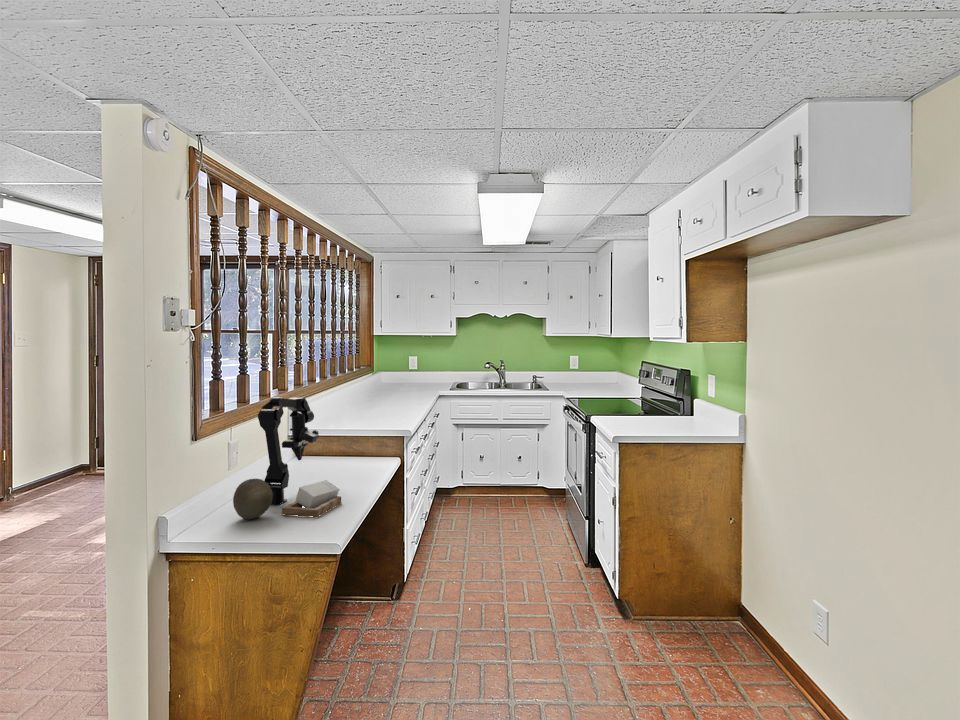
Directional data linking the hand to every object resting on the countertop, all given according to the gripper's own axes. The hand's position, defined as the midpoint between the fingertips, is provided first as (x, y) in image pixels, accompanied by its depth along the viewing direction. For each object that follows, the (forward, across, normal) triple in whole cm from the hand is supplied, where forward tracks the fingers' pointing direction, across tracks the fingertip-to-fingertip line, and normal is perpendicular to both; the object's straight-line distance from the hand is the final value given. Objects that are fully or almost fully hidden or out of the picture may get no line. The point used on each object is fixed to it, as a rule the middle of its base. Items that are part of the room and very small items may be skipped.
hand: (299, 460), depth 275 cm
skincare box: (+9, -15, -24) cm, 29 cm away
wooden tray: (+13, -27, -22) cm, 37 cm away
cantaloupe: (+13, -43, -6) cm, 45 cm away
